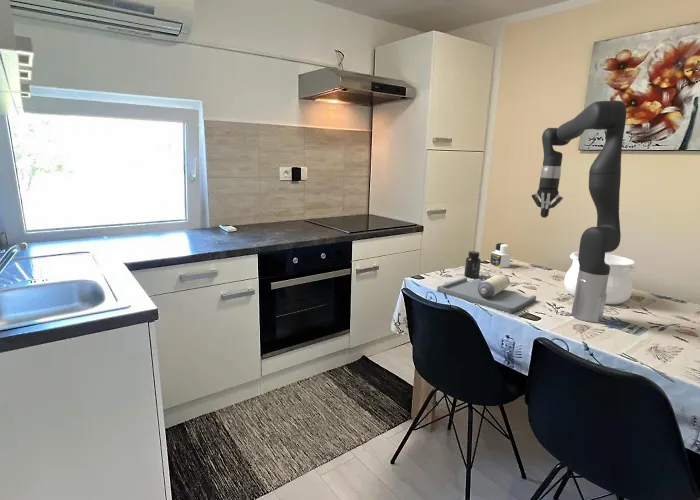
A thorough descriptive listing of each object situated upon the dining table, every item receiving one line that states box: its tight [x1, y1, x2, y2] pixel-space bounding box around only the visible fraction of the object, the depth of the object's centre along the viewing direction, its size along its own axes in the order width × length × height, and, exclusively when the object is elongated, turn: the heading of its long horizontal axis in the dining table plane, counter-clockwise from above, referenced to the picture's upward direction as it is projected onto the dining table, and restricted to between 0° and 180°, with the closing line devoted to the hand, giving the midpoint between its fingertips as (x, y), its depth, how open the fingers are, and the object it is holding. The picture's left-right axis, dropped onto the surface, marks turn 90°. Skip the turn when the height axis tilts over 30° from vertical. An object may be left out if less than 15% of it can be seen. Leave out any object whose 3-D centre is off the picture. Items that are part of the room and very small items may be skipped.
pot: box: [563, 251, 637, 305], centre depth 168 cm, size 26×24×17 cm
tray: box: [436, 276, 537, 315], centre depth 164 cm, size 32×22×2 cm
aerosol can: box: [478, 273, 510, 298], centre depth 164 cm, size 7×7×20 cm
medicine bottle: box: [489, 242, 512, 269], centre depth 212 cm, size 7×7×12 cm
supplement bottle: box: [463, 250, 482, 279], centre depth 190 cm, size 7×7×12 cm
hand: (544, 217), depth 174 cm, fingers closed
